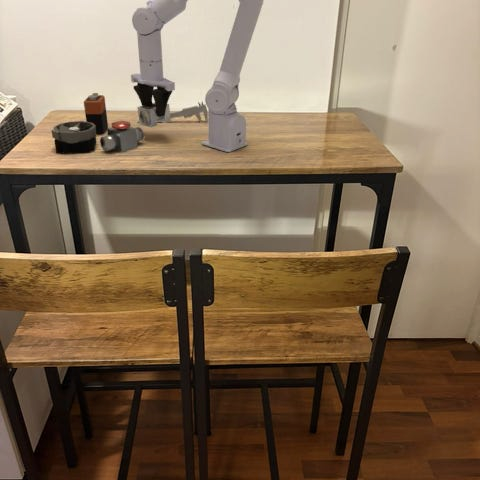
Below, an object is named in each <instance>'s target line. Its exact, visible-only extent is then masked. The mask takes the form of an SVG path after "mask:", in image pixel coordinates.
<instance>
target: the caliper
mask: <svg viewBox="0 0 480 480" xmlns="http://www.w3.org/2000/svg"><path fill="white" fill-rule="evenodd" d="M197 104H198V105H193V106H189V107H184V108H182V110H175V111H170V119H174V118H180V117H183V118H184V119H188V118H192V117H193V116H195V117H196V118H197V120H198V122H199V123H202V122H203V121H202V117H201V113H203V116H204V119H205V123H207V122H208V107H207V105H206V103H205V104H204V102H203V100H202V101H201V102H199V101H198V102H197ZM136 124H139V120H138V121H136Z"/></svg>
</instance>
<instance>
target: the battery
mask: <svg viewBox="0 0 480 480" xmlns="http://www.w3.org/2000/svg"><path fill="white" fill-rule="evenodd" d="M83 107H84V113H85V120H86V121H85V122H90V123H93V124H94V125H95V126H96V135H104V134H105V133H106V132H107V128H109V126H108V125H109V123H108V114H107V105H106V99H105V95H104V94H103V95H99V93H98V92H93V93H92V94H89V95H88V96H87V97H86V98H85V100H84V101H83Z"/></svg>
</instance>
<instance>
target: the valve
mask: <svg viewBox="0 0 480 480" xmlns="http://www.w3.org/2000/svg"><path fill="white" fill-rule="evenodd" d="M106 132H107V135H104V136H101V137H100V138H99V139H100V140H99V143H100V146H101V148H102V150H103V151H105V152H109V151H112V150H114V151H117V152H120V153H125V152H127V151H131V150H133V149H137V148H138V142H142V141H143V140H144V139H145V134H144V133H145V132H144V130H143V129H142V128H141V127H140V126H137V127H133V126H131V122H130V121H126V120H118V121H114V122H112V123H111V127H108V128H107V129H106Z"/></svg>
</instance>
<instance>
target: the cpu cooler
mask: <svg viewBox="0 0 480 480" xmlns="http://www.w3.org/2000/svg"><path fill="white" fill-rule="evenodd" d="M51 136H52V138H53V139H54V147H55V151H56V154H63V155H66V154H69V155H70V154H86V153H87V154H88V153H91V152H95V150H96V145H97V134H96V126H95V125H94V124H93V123H90V122H86V121H85V120H76V121H67V122H61V123H58V124H56V125H55V126H54V127H53V129H51Z"/></svg>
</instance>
